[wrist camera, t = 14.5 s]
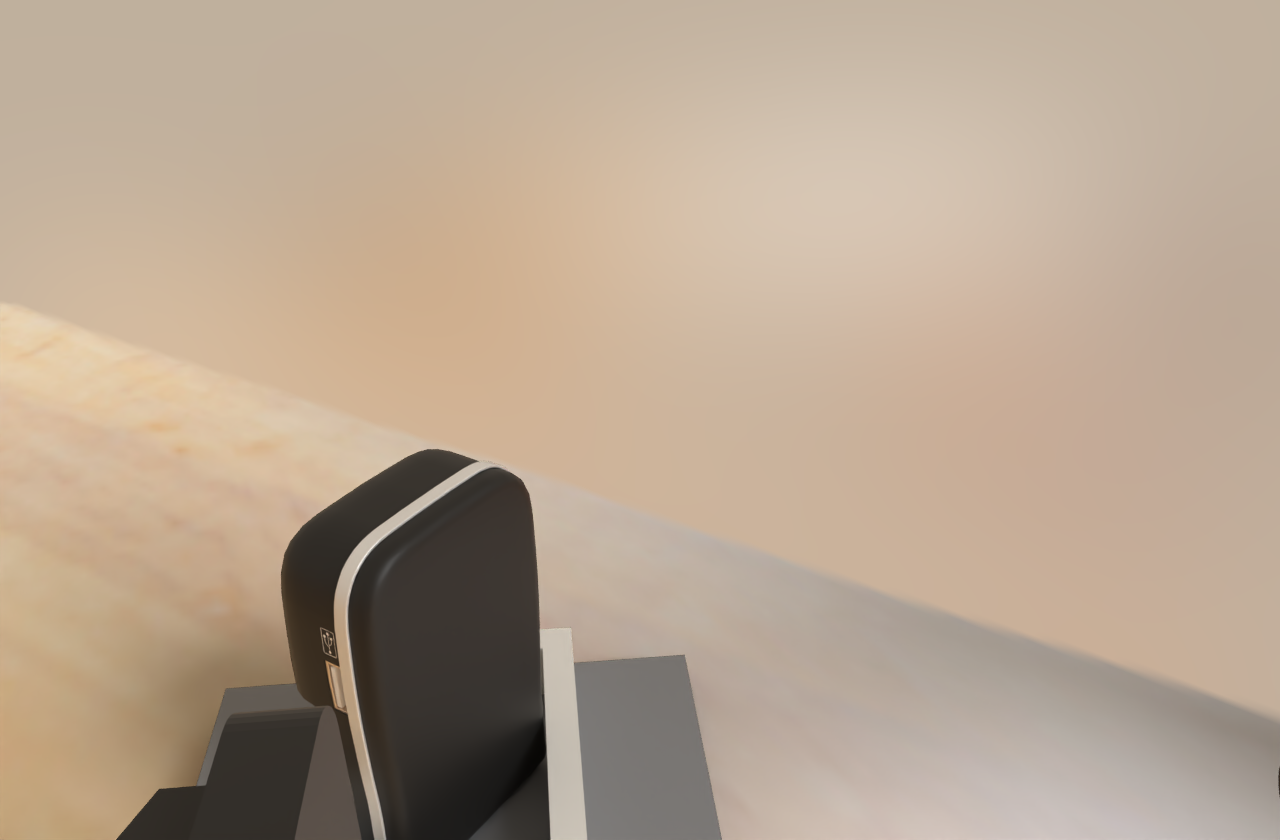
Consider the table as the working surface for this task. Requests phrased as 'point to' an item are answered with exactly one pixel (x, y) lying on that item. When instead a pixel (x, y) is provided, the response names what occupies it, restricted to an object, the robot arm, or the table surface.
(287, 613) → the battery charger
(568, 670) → the charging dock
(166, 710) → the table surface
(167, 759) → the table surface
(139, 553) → the table surface
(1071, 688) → the table surface
